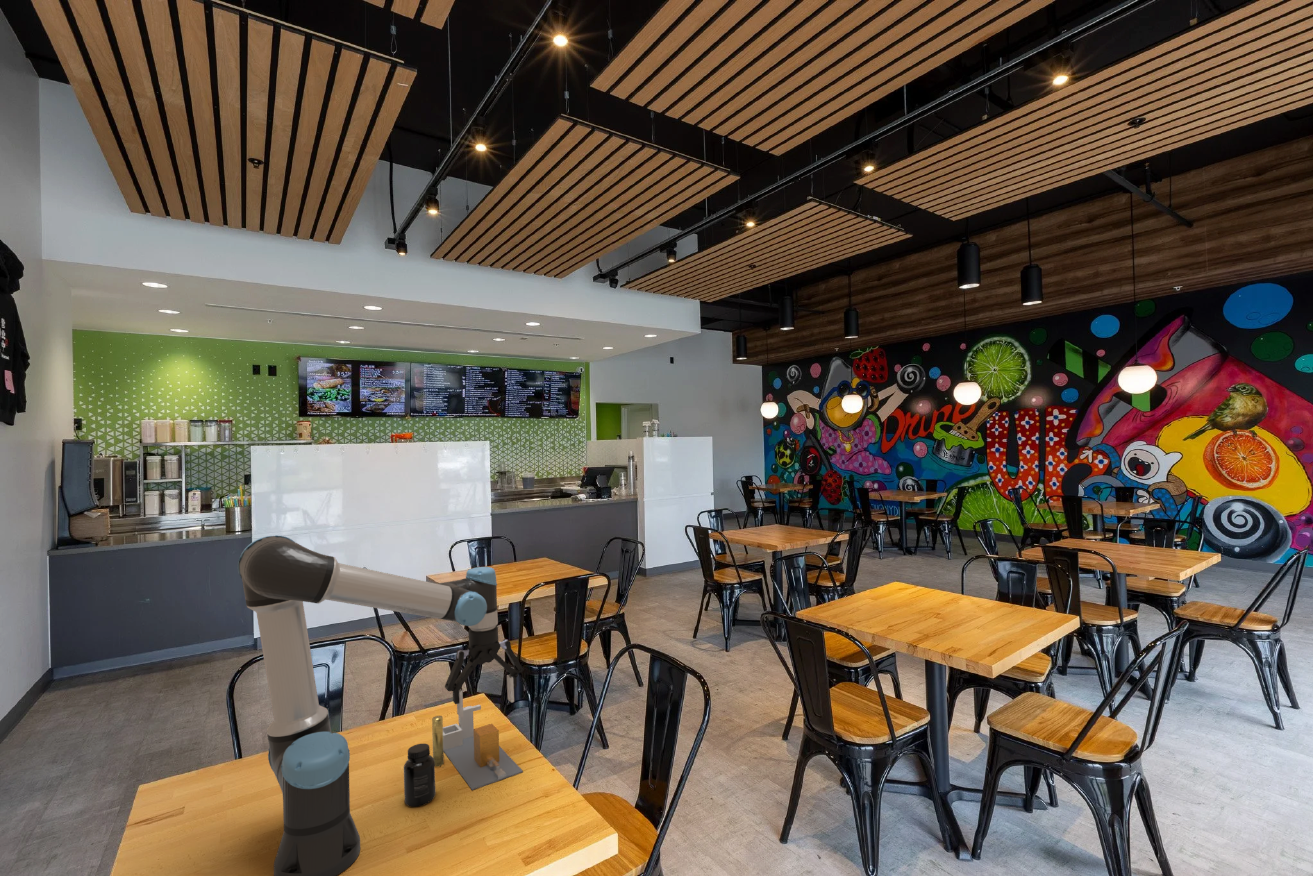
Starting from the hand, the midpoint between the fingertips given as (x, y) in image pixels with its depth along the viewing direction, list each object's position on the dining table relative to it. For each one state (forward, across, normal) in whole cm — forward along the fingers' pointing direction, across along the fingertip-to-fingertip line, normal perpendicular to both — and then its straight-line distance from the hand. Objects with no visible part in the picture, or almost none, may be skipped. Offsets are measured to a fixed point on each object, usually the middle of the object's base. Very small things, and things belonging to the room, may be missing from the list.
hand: (486, 707), depth 158 cm
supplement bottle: (+14, +19, +7) cm, 25 cm away
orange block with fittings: (+14, 0, +4) cm, 14 cm away
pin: (+14, +11, -7) cm, 19 cm away
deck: (+14, +1, -4) cm, 15 cm away
